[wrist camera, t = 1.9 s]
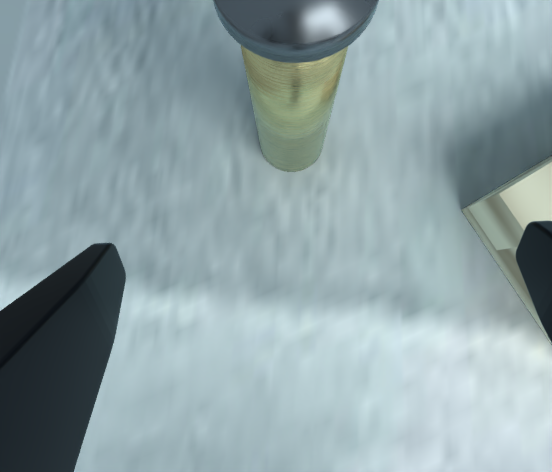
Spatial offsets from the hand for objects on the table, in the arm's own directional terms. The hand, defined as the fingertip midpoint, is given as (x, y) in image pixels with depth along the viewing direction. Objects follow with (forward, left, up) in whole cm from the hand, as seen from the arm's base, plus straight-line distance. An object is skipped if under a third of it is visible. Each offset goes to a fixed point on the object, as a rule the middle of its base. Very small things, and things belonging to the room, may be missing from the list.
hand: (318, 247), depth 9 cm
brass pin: (+3, +7, -13) cm, 15 cm away
